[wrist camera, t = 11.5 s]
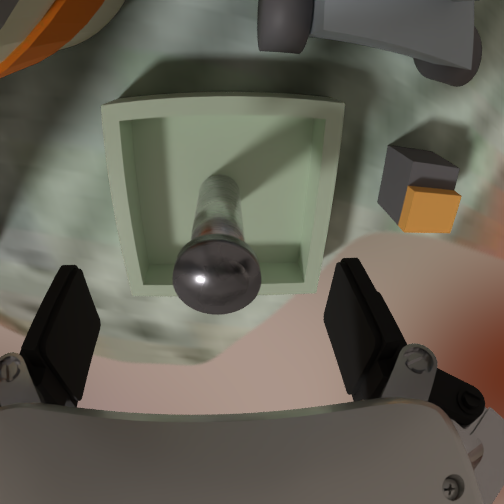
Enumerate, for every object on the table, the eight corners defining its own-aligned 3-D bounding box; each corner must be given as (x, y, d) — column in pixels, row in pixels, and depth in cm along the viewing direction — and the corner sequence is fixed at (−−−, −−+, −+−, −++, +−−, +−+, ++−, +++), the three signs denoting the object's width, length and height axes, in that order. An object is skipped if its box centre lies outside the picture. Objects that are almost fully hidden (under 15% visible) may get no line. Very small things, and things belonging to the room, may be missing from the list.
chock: (387, 144, 20) (420, 166, 16) (431, 151, 20) (467, 173, 16) (376, 201, 22) (404, 232, 19) (419, 204, 23) (450, 233, 19)
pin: (190, 167, 19) (167, 245, 12) (248, 166, 20) (263, 243, 12) (192, 218, 21) (177, 314, 14) (246, 218, 22) (259, 313, 14)
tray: (117, 98, 17) (100, 105, 14) (328, 97, 18) (345, 103, 15) (140, 270, 24) (132, 296, 21) (307, 268, 25) (316, 293, 22)
